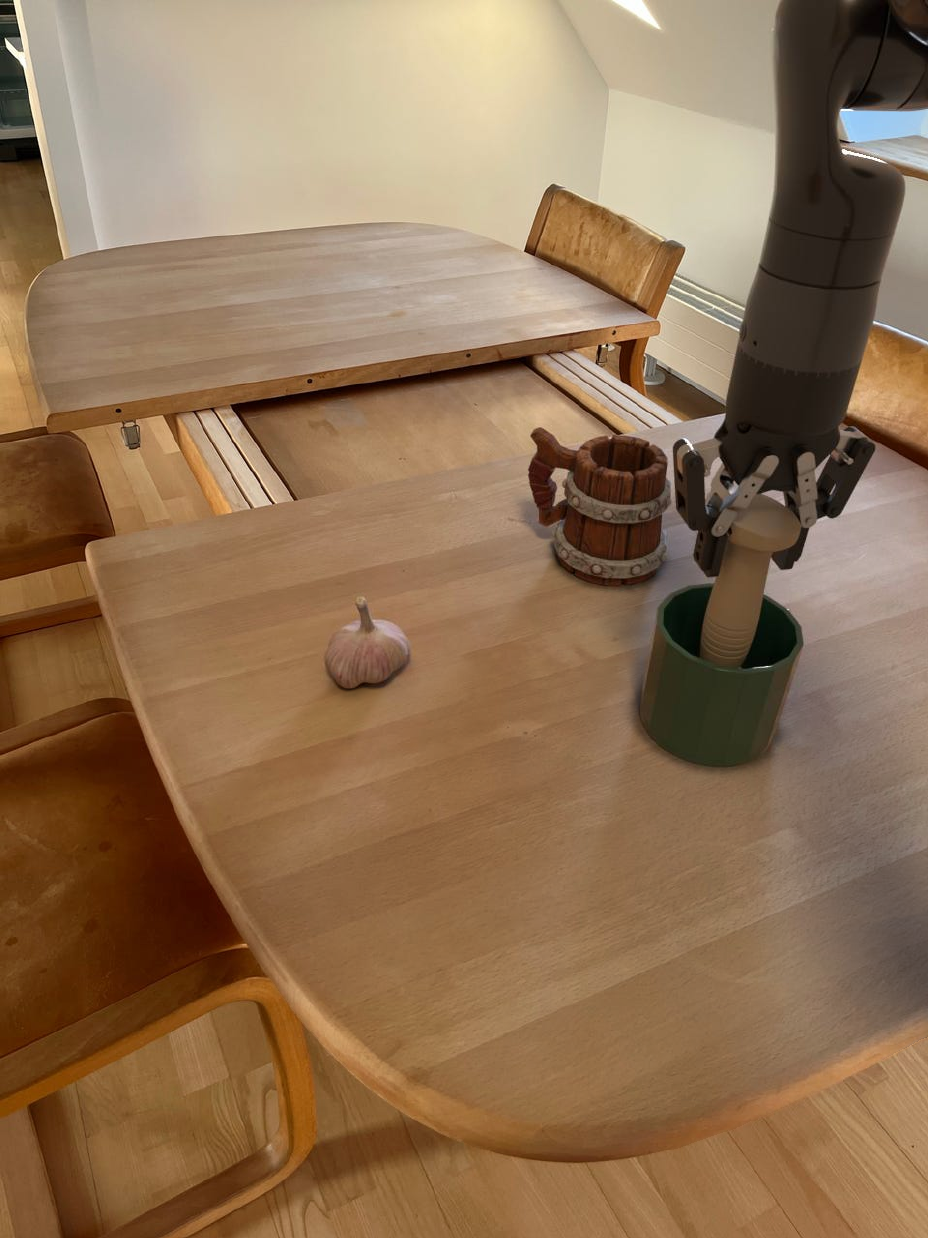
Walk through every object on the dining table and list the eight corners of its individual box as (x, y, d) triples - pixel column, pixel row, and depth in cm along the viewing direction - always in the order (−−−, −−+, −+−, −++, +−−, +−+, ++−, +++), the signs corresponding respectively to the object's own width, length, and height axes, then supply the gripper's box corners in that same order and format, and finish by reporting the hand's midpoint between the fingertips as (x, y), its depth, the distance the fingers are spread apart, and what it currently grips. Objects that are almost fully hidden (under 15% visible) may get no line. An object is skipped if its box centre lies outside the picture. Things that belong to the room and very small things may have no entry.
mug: (663, 601, 90) (659, 460, 82) (522, 590, 96) (505, 456, 87) (683, 539, 99) (682, 406, 91) (554, 532, 104) (541, 405, 96)
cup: (797, 757, 75) (829, 663, 69) (667, 775, 73) (689, 680, 67) (739, 668, 83) (763, 577, 77) (621, 682, 82) (637, 590, 75)
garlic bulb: (330, 703, 79) (323, 629, 74) (321, 648, 84) (314, 576, 79) (418, 691, 80) (418, 618, 75) (403, 638, 86) (402, 566, 81)
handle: (716, 641, 78) (754, 484, 69) (768, 688, 74) (816, 527, 64) (669, 657, 76) (701, 498, 67) (719, 706, 72) (761, 543, 63)
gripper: (717, 374, 54) (671, 608, 65) (939, 360, 56) (859, 587, 67) (669, 327, 60) (634, 548, 70) (873, 315, 62) (809, 531, 73)
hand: (744, 566), depth 69 cm, fingers closed on handle, 5 cm apart
